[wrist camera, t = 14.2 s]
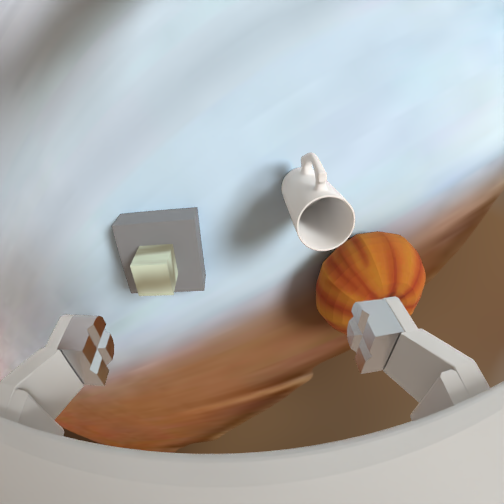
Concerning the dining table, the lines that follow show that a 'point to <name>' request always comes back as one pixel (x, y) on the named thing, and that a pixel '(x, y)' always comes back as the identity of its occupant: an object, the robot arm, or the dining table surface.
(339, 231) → the mug
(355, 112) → the dining table surface
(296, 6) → the dining table surface
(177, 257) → the riser block
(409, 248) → the pumpkin
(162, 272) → the cube
